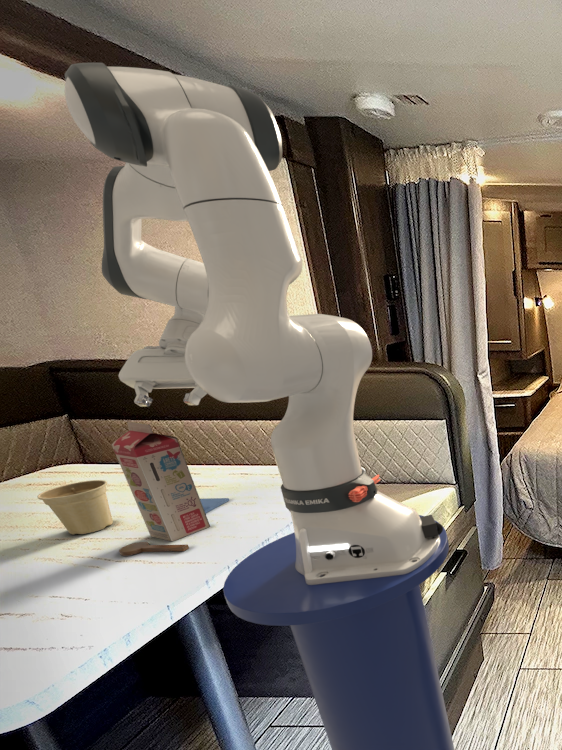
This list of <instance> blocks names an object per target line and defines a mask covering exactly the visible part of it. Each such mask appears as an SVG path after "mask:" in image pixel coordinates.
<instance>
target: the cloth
mask: <svg viewBox="0 0 562 750" xmlns="http://www.w3.org/2000/svg"><path fill="white" fill-rule="evenodd" d="M200 501H201V503H202V506H203V508H204V511H205V514H208V513H209V512H211V511H212V510H215V509H217V508H218V507H220V506H222V505H224V504H226V503H227V502H229V501H230V498H229V497H219V498H218V497H216V498H214V497H211V498H209V497H208V498H200Z"/></svg>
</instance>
